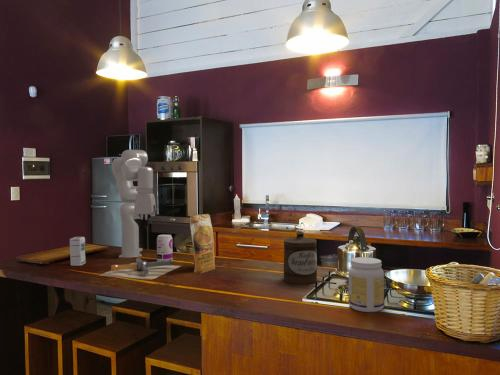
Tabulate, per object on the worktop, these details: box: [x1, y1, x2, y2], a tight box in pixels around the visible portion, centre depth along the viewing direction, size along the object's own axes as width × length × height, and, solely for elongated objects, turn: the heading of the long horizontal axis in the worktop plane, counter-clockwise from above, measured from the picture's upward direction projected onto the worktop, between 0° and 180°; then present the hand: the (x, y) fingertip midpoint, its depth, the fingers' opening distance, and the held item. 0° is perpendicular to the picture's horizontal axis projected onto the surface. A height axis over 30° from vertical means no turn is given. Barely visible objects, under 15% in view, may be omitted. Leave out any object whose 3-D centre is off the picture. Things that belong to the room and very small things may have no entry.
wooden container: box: [283, 230, 318, 285], centre depth 178 cm, size 15×15×22 cm
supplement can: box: [156, 234, 174, 263], centre depth 213 cm, size 8×8×15 cm
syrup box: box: [69, 236, 87, 267], centre depth 211 cm, size 6×6×14 cm
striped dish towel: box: [99, 262, 181, 281], centre depth 192 cm, size 28×28×2 cm
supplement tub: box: [348, 256, 385, 313], centre depth 140 cm, size 12×12×17 cm
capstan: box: [110, 257, 172, 274], centre depth 192 cm, size 28×28×4 cm
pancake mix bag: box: [188, 213, 216, 275], centre depth 195 cm, size 7×19×28 cm, turn 148°
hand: (145, 227), depth 202 cm, fingers closed
